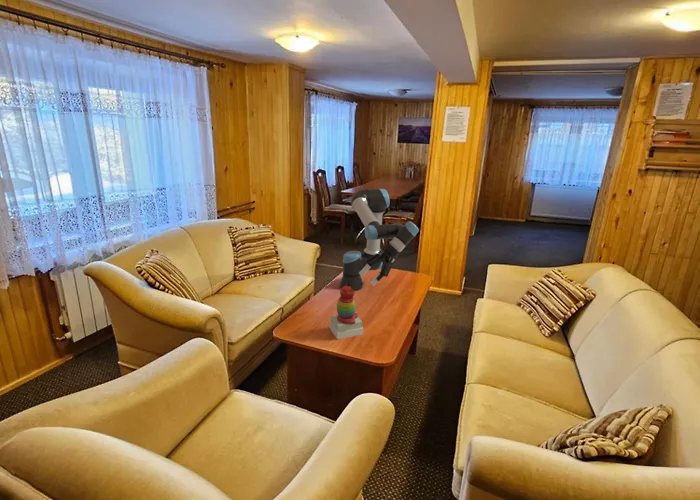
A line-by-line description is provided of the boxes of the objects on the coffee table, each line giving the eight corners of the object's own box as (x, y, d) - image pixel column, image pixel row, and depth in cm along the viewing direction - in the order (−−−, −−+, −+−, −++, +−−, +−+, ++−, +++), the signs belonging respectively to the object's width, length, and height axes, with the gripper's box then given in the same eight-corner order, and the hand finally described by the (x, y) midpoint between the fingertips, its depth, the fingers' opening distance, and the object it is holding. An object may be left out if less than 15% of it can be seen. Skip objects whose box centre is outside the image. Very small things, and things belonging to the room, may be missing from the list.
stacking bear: (354, 325, 184) (355, 291, 179) (334, 322, 186) (334, 289, 181) (358, 315, 194) (359, 283, 189) (339, 313, 196) (339, 281, 191)
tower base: (329, 328, 195) (329, 315, 193) (354, 323, 200) (354, 311, 198) (337, 339, 185) (337, 326, 183) (363, 334, 190) (363, 321, 188)
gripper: (411, 260, 180) (381, 293, 179) (387, 245, 202) (360, 275, 201) (402, 250, 176) (372, 284, 176) (378, 237, 198) (351, 267, 198)
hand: (366, 279), depth 188 cm, fingers open, 13 cm apart
